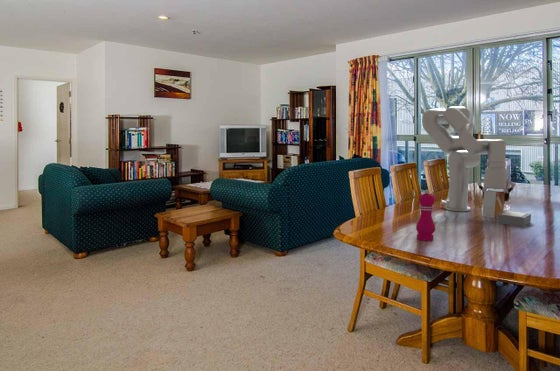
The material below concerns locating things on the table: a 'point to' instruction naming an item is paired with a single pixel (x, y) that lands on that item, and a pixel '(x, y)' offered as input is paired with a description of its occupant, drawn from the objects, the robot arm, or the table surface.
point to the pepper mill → (426, 218)
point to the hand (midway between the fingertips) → (495, 200)
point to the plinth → (514, 218)
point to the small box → (493, 203)
